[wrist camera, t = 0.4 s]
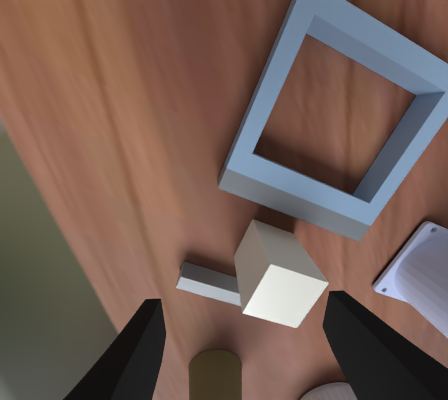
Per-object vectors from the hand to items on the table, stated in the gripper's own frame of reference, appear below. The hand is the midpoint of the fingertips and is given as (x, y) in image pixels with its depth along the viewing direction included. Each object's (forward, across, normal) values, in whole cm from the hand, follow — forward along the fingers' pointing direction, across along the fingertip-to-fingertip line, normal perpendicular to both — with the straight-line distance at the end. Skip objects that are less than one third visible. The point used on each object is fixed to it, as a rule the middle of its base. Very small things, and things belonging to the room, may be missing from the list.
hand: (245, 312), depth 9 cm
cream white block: (+9, -3, +3) cm, 10 cm away
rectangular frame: (+9, -5, -2) cm, 11 cm away
